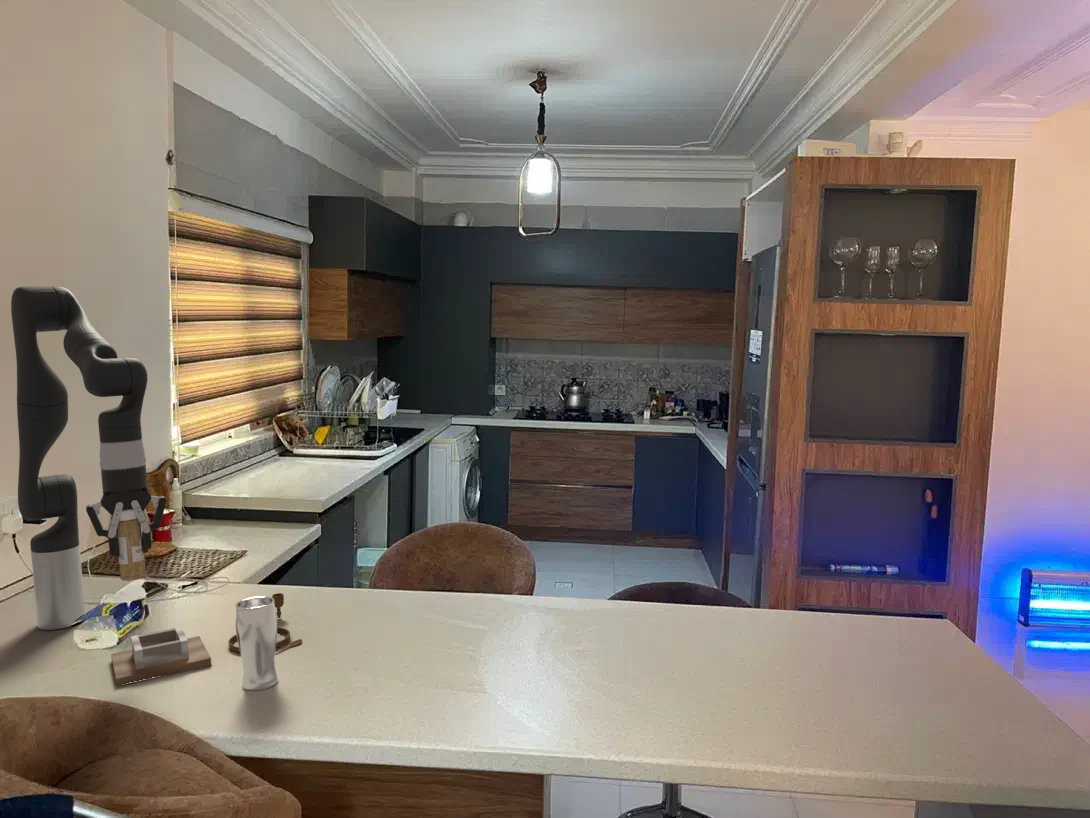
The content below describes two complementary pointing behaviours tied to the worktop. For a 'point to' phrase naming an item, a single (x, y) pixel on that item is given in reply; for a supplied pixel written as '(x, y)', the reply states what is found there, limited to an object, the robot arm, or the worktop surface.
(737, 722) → the worktop surface
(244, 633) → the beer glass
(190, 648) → the socket
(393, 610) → the worktop surface
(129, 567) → the sprinkles bottle
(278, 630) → the place setting
